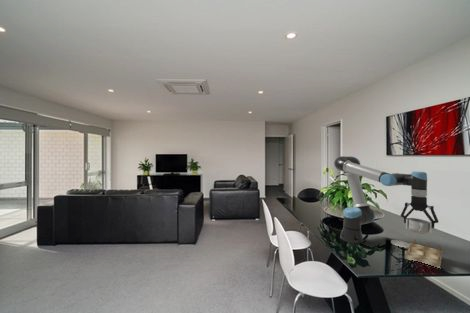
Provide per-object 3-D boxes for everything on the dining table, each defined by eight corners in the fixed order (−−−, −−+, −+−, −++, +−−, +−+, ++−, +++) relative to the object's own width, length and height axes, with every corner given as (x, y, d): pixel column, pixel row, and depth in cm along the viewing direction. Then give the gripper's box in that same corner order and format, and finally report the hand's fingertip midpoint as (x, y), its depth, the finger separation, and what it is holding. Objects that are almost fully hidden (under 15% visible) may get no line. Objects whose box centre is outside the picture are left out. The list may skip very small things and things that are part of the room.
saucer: (389, 244, 155) (389, 242, 155) (392, 240, 163) (392, 237, 163) (410, 250, 146) (410, 247, 146) (412, 245, 154) (413, 242, 154)
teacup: (408, 228, 144) (408, 216, 144) (429, 232, 137) (430, 219, 137) (407, 233, 133) (407, 221, 133) (431, 238, 126) (431, 224, 126)
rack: (404, 258, 133) (405, 246, 133) (409, 249, 146) (409, 238, 146) (440, 269, 122) (440, 255, 121) (441, 258, 135) (442, 245, 135)
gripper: (395, 194, 141) (394, 227, 141) (444, 199, 124) (443, 237, 124) (397, 193, 146) (397, 225, 146) (445, 198, 129) (444, 234, 129)
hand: (418, 230), depth 135 cm, fingers closed on teacup, 11 cm apart
